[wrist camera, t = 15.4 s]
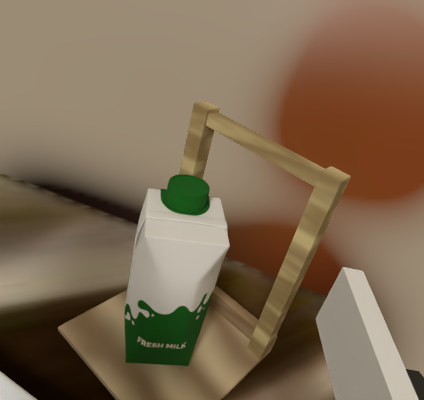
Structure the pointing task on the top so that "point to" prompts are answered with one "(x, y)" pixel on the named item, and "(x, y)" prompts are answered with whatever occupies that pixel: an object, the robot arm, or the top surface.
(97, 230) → the top surface
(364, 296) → the robot arm
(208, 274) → the fresh milk carton
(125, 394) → the wooden frame stand
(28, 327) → the top surface
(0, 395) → the salad plate
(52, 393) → the top surface
